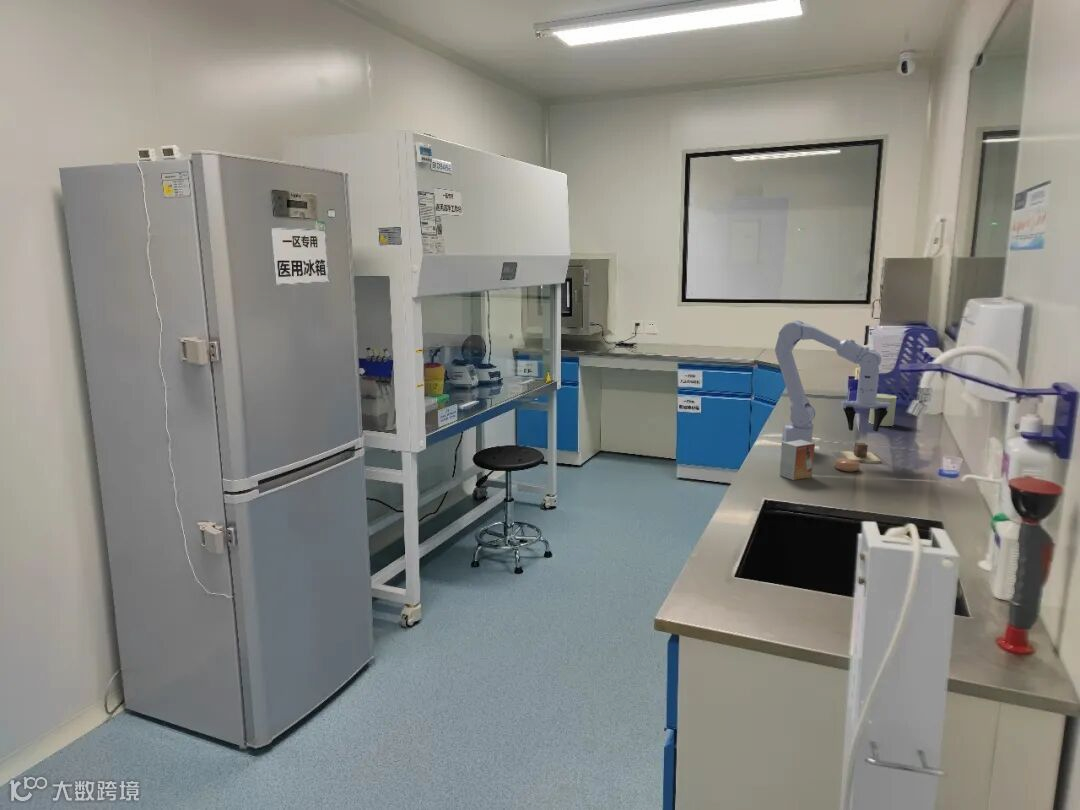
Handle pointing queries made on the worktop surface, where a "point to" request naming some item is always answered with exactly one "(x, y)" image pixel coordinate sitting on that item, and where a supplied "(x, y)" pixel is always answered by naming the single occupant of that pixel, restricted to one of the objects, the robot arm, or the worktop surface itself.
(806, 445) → the small box
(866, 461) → the lid
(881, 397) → the can
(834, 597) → the worktop surface
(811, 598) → the worktop surface
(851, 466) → the pink rounded disc
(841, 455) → the mat
